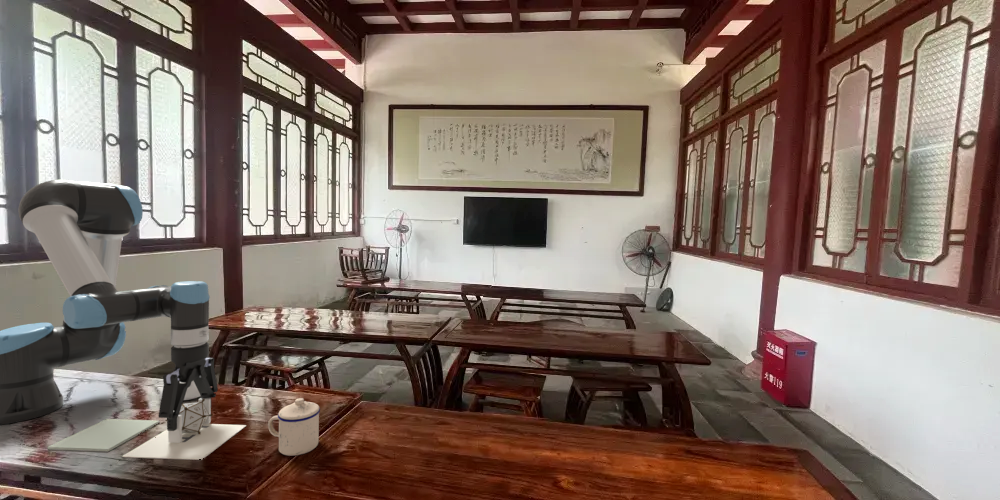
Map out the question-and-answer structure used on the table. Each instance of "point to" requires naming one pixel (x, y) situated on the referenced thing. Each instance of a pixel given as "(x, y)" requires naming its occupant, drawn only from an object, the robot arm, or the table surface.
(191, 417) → the game die
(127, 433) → the sage mat
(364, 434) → the table surface
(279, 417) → the teacup with lid
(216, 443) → the card
